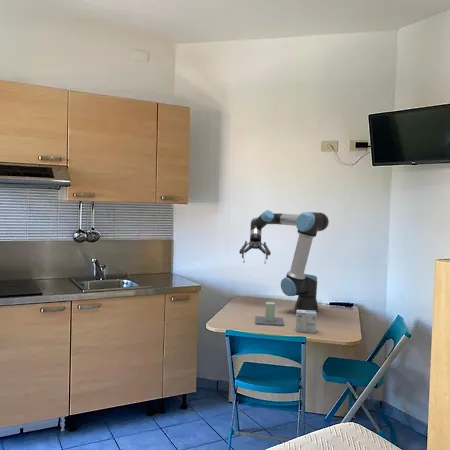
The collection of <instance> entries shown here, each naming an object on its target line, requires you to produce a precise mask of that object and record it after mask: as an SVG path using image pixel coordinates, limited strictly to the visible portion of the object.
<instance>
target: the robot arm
mask: <svg viewBox="0 0 450 450" xmlns="http://www.w3.org/2000/svg"><path fill="white" fill-rule="evenodd" d="M329 224H330V222H329V217H328V215H326V214H325V213H323V212H314V211H305V212H301V213H300V214H298V213H297V214H294V213H275V212H274V213H273V212H272V211H271V210H268V209H267V210H264V211H263V212H262V213H261V214H260V215H259V216H258V217H257V216H256V217H253V218H251V220H250V229H249V230H250V232H249V241H247V240H245V242H244V244H243V245H242V246H241V248H240V249H239V254H240V255H241V259H242V261H243V263H244V264H245V259H246V253H247V252H249V251H250V250H252V249H255V250H260V251H261V252H262V254H264V265H266V264H267V260H268V257H269V256H271V250H270V249H269V246H268V245H267V242H266V241H264V242H262V230H263V228H265V227H266V226H267V225H279V226H280V225H283V226H295V227H296V229H297V233H298V237H297V243H296V246H295V251H294V254H293V257H292V260H291V261H292V263H291V266H290V270H288V271H287V272H286V276H285V277H283V278H282V279H281V280H280V288H281V289H280V290H281V292H282V293H283V294H284V295H285V296H287V297H295V296H297V300H295V301H296V302H295V304H294V309H295V310H296V311H297V310H311V311H316V313H317V312H319V304H318V299H317V290H318V277H317V276H316V275H314V274H308V273H305V271H306V266H307V263H308V260H309V255H310V252H311V251H310V250H311V247H312V243H313V241H314V240H313V239H314V238H315V237H317V234H318V232H322V231H324V230H326V229H327V228H328V226H329Z"/></svg>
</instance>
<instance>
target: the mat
mask: <svg viewBox="0 0 450 450" xmlns="http://www.w3.org/2000/svg"><path fill="white" fill-rule="evenodd" d="M254 322H255V325H256V326H257V325H259V326H274V327H275V326H276V327H285V321H284V317H275V316H274V322H271V321H265V316H262V315H261V316H260V315H258V316H257V315H256V316H255V321H254Z"/></svg>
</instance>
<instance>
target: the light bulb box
mask: <svg viewBox="0 0 450 450" xmlns="http://www.w3.org/2000/svg"><path fill="white" fill-rule="evenodd" d="M317 315H318V314H317V312H316V311H311V310H296V315H295V332H296V331H297V333H299V332H300V333H311V334H312V333H313V334H316V333H317Z"/></svg>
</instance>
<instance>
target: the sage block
mask: <svg viewBox="0 0 450 450" xmlns="http://www.w3.org/2000/svg"><path fill="white" fill-rule="evenodd" d="M275 310H276V303H275V302H273V301H266V302H265V311H264V313H265V314H264V317H265V321H271V322H274V317H275Z"/></svg>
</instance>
